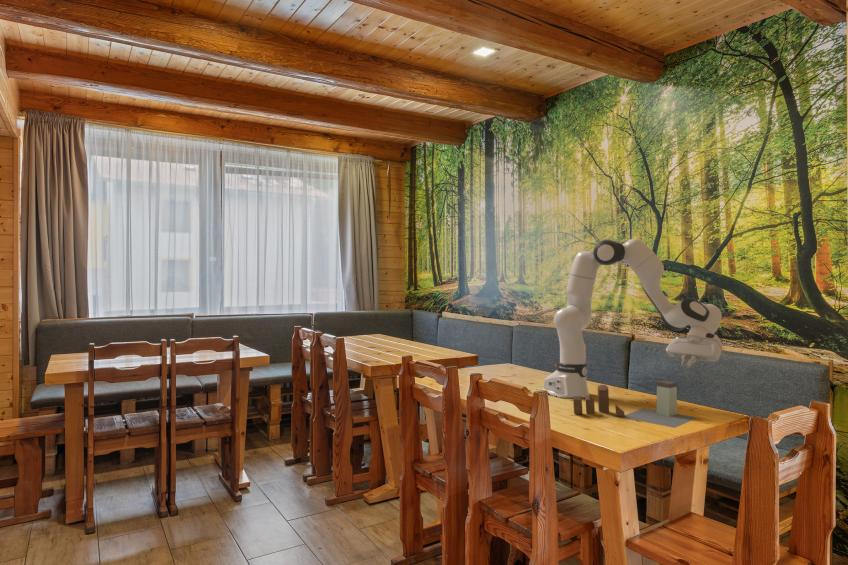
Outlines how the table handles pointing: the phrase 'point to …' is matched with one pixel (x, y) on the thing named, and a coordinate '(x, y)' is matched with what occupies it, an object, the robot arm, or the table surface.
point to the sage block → (667, 398)
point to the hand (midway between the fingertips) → (685, 365)
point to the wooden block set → (602, 403)
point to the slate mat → (658, 418)
